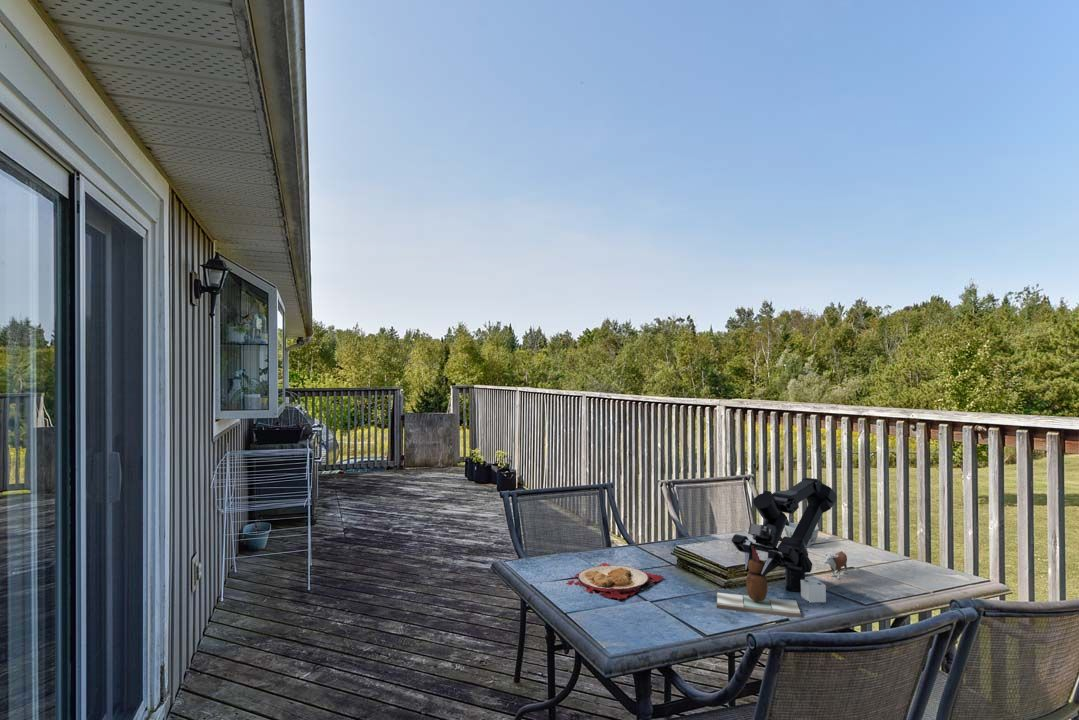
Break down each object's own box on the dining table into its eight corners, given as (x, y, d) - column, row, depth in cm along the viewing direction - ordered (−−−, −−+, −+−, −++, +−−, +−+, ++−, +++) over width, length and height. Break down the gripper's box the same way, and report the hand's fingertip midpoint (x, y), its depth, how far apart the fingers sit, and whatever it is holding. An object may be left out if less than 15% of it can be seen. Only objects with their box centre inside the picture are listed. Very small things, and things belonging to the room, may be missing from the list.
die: (801, 596, 174) (800, 579, 174) (816, 596, 174) (816, 579, 174) (809, 602, 169) (809, 585, 169) (826, 602, 169) (825, 584, 169)
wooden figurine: (746, 593, 170) (745, 542, 171) (767, 595, 168) (765, 544, 169) (746, 602, 164) (745, 549, 164) (768, 604, 162) (766, 551, 163)
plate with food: (664, 582, 189) (664, 571, 189) (620, 603, 169) (620, 590, 169) (603, 567, 205) (603, 557, 205) (556, 585, 185) (556, 573, 185)
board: (716, 595, 174) (716, 591, 174) (796, 604, 167) (796, 599, 167) (716, 608, 164) (716, 603, 165) (801, 617, 158) (801, 612, 158)
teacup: (826, 548, 225) (826, 527, 225) (801, 551, 220) (801, 530, 221) (797, 538, 239) (796, 519, 239) (773, 541, 234) (773, 521, 235)
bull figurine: (822, 578, 189) (821, 554, 190) (838, 570, 198) (837, 546, 198) (835, 582, 186) (835, 557, 186) (851, 573, 195) (851, 549, 195)
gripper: (734, 507, 177) (714, 550, 169) (792, 518, 162) (774, 566, 155) (748, 528, 181) (729, 571, 174) (806, 541, 167) (789, 588, 160)
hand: (754, 573), depth 166 cm, fingers closed on wooden figurine, 5 cm apart
